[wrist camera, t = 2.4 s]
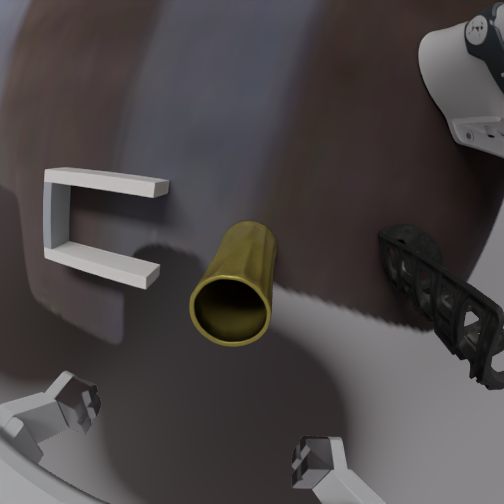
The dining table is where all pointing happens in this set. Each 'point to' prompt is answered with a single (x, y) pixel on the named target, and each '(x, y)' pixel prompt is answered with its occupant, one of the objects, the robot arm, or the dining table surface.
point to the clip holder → (85, 256)
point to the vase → (237, 287)
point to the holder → (440, 311)
